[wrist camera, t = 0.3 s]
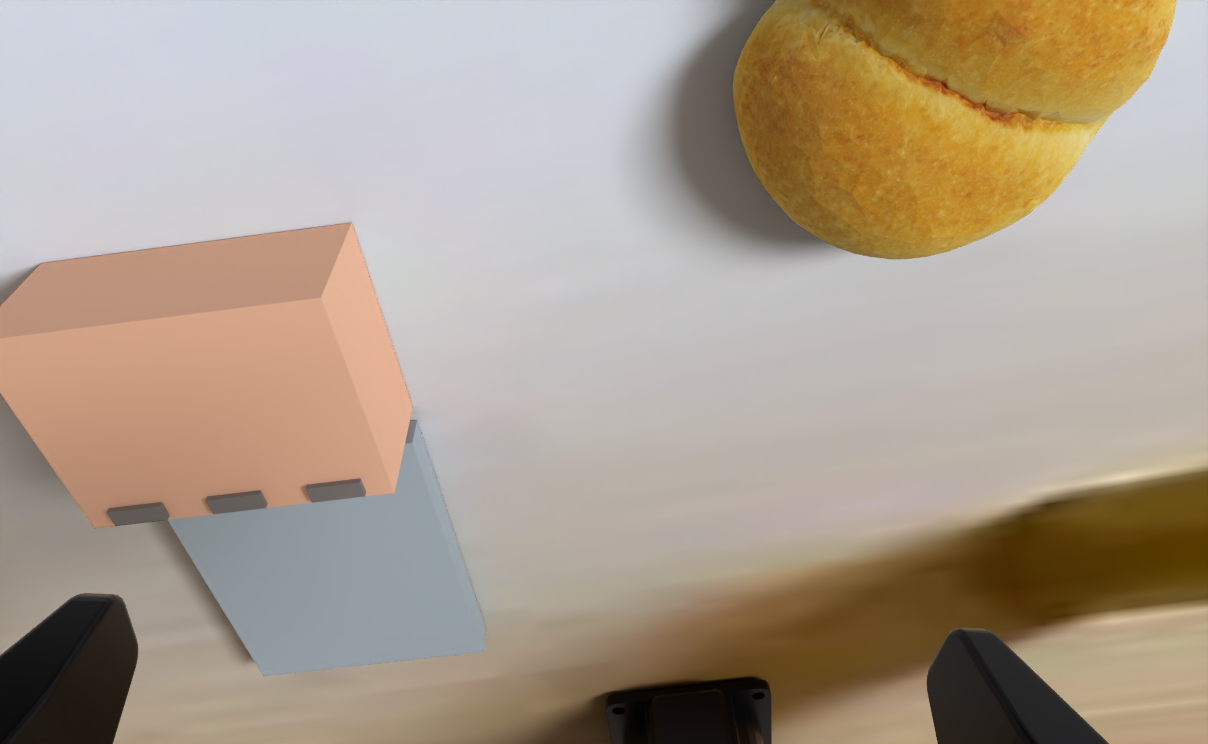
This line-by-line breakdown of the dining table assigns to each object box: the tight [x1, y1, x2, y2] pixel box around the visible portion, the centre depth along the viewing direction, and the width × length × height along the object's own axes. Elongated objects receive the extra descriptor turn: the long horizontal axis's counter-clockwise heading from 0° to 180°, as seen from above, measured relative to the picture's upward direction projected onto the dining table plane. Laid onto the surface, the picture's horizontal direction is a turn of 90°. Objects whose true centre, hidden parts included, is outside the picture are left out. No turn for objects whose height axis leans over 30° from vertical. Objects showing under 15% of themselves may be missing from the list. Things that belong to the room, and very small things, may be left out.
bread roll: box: [733, 0, 1176, 259], centre depth 18 cm, size 8×9×4 cm
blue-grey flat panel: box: [167, 420, 486, 676], centre depth 28 cm, size 10×8×1 cm
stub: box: [0, 223, 413, 528], centre depth 22 cm, size 6×8×4 cm
